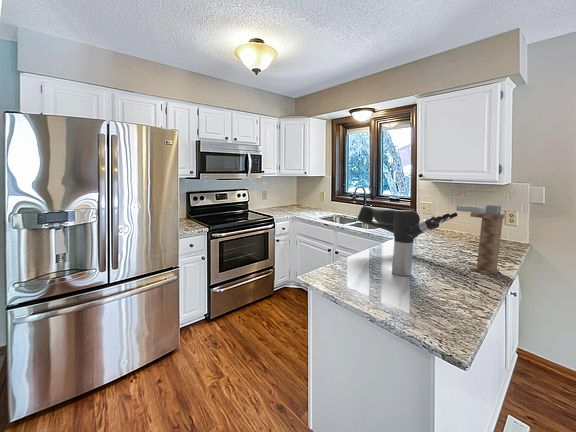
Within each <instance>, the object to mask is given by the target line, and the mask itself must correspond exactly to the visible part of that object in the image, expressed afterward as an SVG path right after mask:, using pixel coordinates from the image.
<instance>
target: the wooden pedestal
mask: <svg viewBox="0 0 576 432" xmlns="http://www.w3.org/2000/svg"><path fill="white" fill-rule="evenodd" d="M470 217H472V218H479V219H481V224H480V235H479V241H478V242H479V244H478V252H477V259H476V260H477V261H476V264H475V265H472V266H471V267H469V270H470V271H471V272H472V271H473V272H478V273H481V274H484V275H489V276H492V275H494V274H496V273H499V271H500V269H499V268H498V263H499V255H500V254H499V253H500V246H501V239H502V238H501V237H502V228H503V221H504V219H505V214H504V213H500V215H491V214H483V213H473V212H470Z"/></svg>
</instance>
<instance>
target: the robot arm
mask: <svg viewBox="0 0 576 432" xmlns="http://www.w3.org/2000/svg"><path fill="white" fill-rule="evenodd" d="M456 217H458V213H457V212H453V213H451V214H450V213H446V214H443V215H439V216H433V215H432V216H430V217H427V218H425V219H424V220H421V218H420V215H419V214H418V212H417V211H415V210H414V209H401V210H398V209H394V208H393V209H392V208H387V207H385V208H384V207H373V206H369V205H364V206H362V207H361V208H360V211H359V214H358V216H357V220H358V221H359V222H360V223H363V224H365V225H367V226H371V227H375V228H377V229H381V230H384V231H387V232H389V233H391V234H393V236H394V237H393V238H394V239H393V240H394V242H393V253H392V254H393V255H392V261H391V262H392V264H391V274H393V275H395V276H396V275H397V276H400V277H409V276H411V275H412V267H413V252H414V239H416V238H417V237H419V236H420V235H422V234H424V233H428V232H431V231H433V230H436V229H439V228H440V224H443V223H445V222H449V221H450V220H453V219H454V218H456ZM373 219H374V220H375V221H374V220H373ZM420 220H421V221H420Z"/></svg>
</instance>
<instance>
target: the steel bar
mask: <svg viewBox="0 0 576 432" xmlns="http://www.w3.org/2000/svg"><path fill="white" fill-rule="evenodd" d="M455 211H456V212H465V213H483V214H491V215H500V214H502V213H501V211H502V205H497V204H496V205H495V204H487V205H486V207H485V206H473V205H463V204H459V205H456V210H455Z"/></svg>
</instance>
